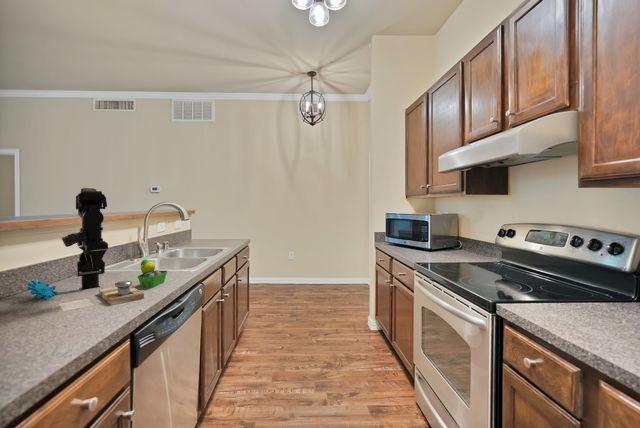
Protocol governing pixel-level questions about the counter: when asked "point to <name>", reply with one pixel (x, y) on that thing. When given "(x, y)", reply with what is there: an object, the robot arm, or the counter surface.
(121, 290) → the peg
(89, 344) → the counter surface
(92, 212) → the robot arm
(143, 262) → the fruit basket
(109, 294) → the rail plate
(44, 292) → the blue spiky lump
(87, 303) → the tab
